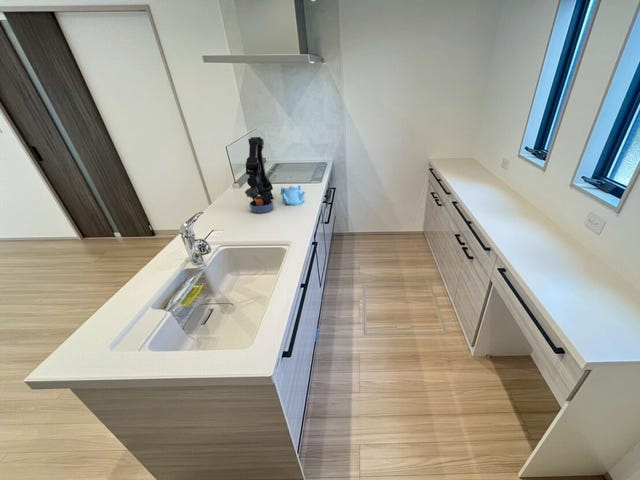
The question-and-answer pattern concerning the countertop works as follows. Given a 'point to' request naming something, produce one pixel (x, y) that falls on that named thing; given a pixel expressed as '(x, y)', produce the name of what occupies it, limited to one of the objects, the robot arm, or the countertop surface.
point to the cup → (259, 201)
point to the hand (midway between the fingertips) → (261, 206)
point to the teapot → (292, 195)
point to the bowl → (261, 207)
